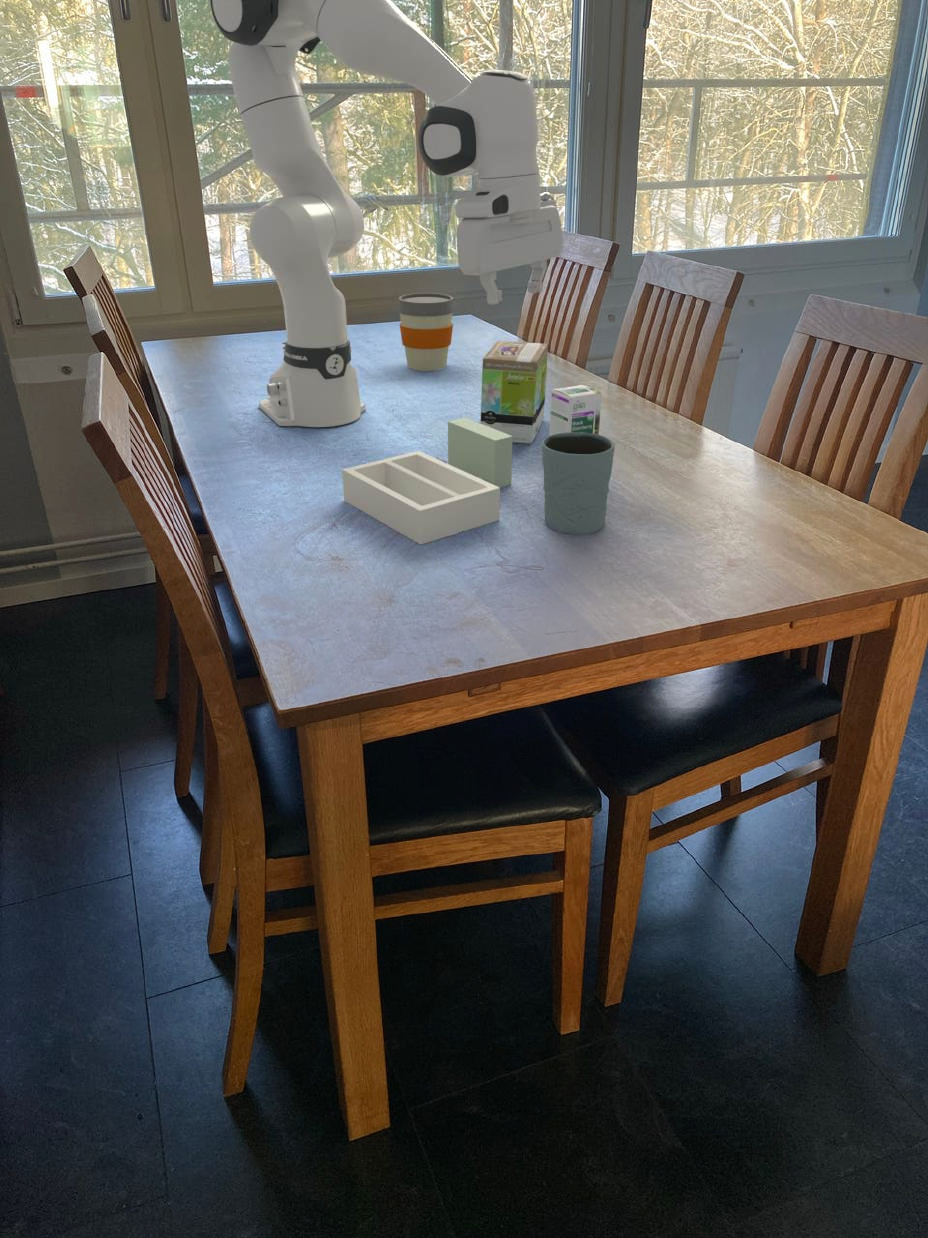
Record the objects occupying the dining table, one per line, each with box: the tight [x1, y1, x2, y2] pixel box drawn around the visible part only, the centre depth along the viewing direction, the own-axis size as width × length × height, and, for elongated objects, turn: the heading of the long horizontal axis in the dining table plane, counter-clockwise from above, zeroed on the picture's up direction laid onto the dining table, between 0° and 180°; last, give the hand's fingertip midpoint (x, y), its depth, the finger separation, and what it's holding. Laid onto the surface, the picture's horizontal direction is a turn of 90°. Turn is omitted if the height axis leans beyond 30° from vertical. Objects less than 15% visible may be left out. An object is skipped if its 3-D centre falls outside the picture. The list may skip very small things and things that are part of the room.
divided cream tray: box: [341, 450, 501, 545], centre depth 136 cm, size 20×15×5 cm
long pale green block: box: [447, 417, 513, 489], centre depth 148 cm, size 12×4×8 cm, turn 38°
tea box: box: [479, 340, 549, 444], centre depth 167 cm, size 15×10×15 cm, turn 168°
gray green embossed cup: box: [541, 432, 616, 536], centre depth 131 cm, size 10×10×12 cm
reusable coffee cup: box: [397, 292, 455, 372], centre depth 208 cm, size 13×13×15 cm
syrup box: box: [548, 384, 602, 436], centre depth 145 cm, size 6×6×14 cm
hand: (515, 297), depth 140 cm, fingers open, 8 cm apart
